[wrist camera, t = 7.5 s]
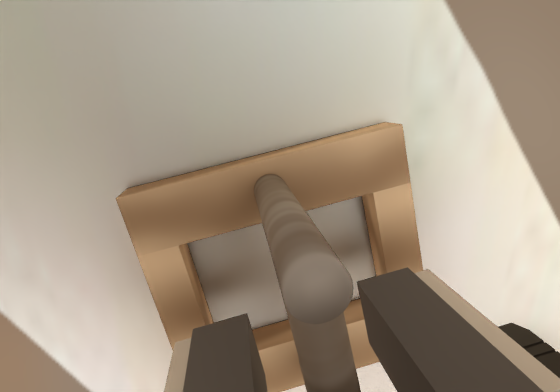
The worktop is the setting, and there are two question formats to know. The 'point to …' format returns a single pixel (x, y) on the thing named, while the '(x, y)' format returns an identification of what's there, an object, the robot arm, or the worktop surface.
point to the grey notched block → (373, 346)
